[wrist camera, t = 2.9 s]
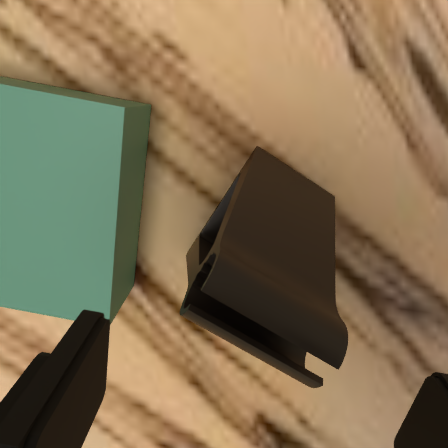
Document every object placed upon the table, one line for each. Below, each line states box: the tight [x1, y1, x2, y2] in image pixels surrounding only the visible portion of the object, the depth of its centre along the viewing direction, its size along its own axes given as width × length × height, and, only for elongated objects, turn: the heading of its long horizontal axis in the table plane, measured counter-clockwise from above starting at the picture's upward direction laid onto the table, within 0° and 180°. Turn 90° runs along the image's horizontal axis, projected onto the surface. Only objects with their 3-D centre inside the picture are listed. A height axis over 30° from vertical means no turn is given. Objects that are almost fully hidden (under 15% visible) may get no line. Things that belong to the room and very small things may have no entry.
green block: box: [0, 76, 151, 324], centre depth 22 cm, size 12×13×5 cm
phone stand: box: [180, 146, 348, 388], centre depth 18 cm, size 9×6×12 cm, turn 147°
